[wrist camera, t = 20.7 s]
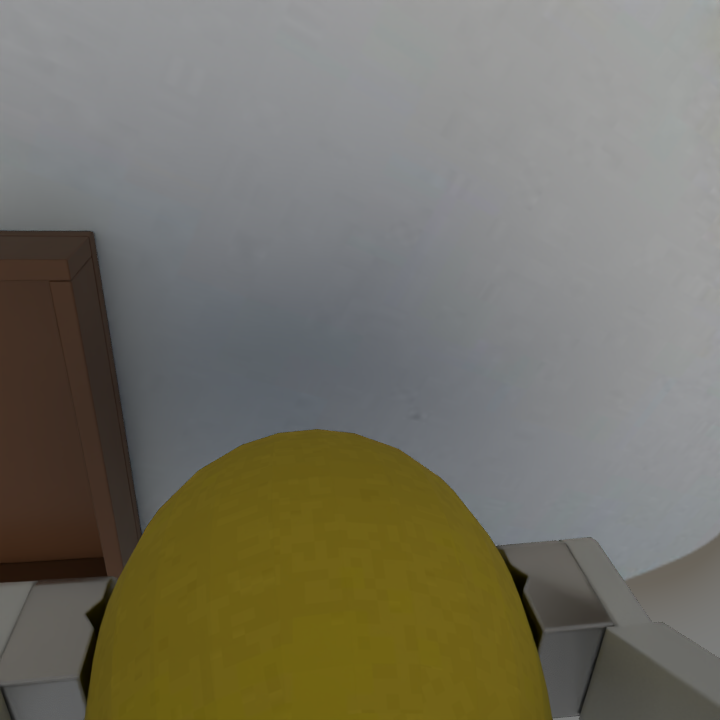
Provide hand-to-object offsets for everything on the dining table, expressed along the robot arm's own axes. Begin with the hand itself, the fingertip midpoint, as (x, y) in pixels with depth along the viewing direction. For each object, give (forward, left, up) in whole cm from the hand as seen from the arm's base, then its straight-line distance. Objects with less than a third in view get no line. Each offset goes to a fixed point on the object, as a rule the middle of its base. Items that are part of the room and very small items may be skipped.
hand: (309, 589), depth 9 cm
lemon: (0, 0, -3) cm, 3 cm away
